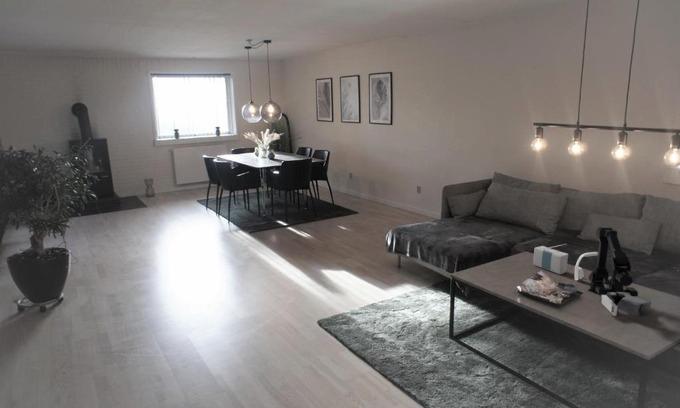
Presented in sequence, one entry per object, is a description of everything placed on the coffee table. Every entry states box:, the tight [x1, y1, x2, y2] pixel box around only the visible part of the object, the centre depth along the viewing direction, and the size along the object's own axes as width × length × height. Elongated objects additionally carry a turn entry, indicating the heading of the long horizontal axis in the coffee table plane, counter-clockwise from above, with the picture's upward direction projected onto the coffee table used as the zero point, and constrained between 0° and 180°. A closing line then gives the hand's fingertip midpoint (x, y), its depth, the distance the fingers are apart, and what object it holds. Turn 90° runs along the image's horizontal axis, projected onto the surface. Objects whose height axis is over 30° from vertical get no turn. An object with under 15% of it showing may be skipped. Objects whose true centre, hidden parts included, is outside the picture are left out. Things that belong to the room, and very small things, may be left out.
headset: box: [573, 251, 598, 281], centre depth 287 cm, size 20×7×18 cm, turn 102°
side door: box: [600, 295, 618, 317], centre depth 248 cm, size 17×2×6 cm, turn 172°
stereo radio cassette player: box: [532, 243, 569, 275], centre depth 304 cm, size 21×8×20 cm, turn 28°
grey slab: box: [599, 292, 652, 317], centre depth 250 cm, size 21×12×7 cm, turn 23°
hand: (614, 306), depth 245 cm, fingers closed
